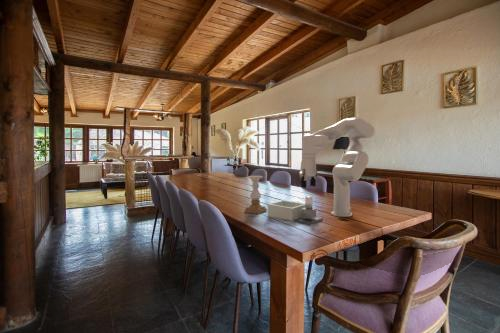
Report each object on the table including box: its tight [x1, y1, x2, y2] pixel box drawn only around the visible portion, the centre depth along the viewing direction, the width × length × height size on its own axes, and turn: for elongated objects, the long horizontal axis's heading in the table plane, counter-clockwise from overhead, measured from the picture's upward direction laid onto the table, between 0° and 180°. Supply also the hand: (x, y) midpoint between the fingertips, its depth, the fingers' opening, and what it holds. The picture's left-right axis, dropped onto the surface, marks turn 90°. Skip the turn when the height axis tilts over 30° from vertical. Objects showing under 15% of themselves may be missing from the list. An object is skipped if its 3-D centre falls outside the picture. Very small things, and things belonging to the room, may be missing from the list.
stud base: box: [294, 216, 324, 226], centre depth 158 cm, size 14×10×6 cm
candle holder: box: [244, 175, 268, 215], centre depth 182 cm, size 11×11×24 cm
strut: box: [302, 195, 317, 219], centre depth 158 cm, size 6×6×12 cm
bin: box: [267, 200, 305, 223], centre depth 169 cm, size 16×18×8 cm
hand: (308, 186), depth 157 cm, fingers open, 9 cm apart
